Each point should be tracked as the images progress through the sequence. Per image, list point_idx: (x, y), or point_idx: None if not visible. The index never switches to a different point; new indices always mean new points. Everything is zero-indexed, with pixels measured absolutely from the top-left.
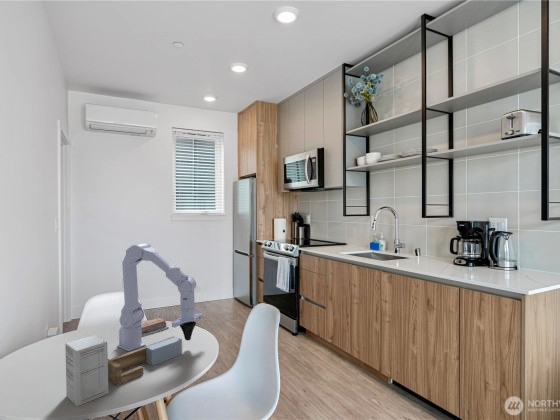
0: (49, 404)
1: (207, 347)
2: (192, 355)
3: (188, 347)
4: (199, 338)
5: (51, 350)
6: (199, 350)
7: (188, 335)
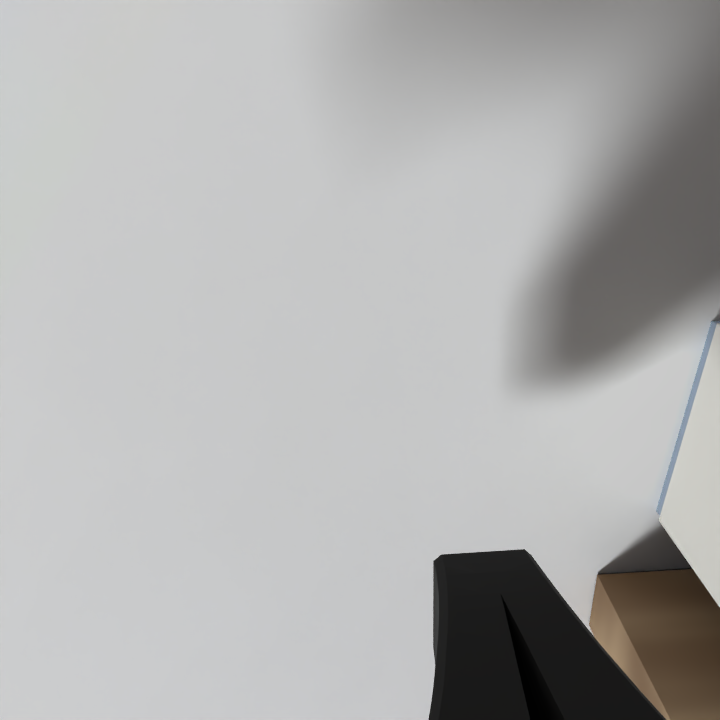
0: None
1: (110, 153)
2: (677, 49)
3: (410, 478)
4: (12, 641)
5: None
6: (364, 166)
7: (609, 668)
